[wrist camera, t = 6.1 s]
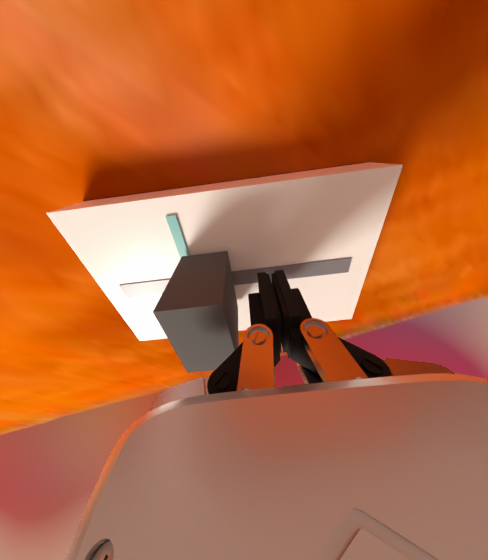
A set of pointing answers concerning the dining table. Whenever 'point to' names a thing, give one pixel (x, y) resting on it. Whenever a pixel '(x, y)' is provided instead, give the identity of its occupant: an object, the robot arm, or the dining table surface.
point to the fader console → (237, 237)
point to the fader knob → (200, 311)
